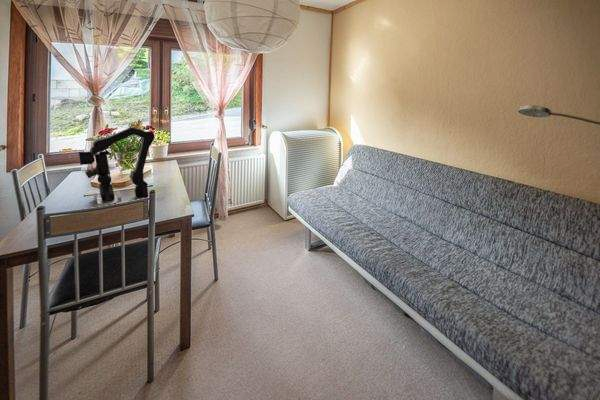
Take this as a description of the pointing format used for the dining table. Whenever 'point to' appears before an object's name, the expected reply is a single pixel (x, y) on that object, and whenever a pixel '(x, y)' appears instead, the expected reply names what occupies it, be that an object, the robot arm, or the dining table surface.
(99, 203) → the track
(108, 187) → the robot arm
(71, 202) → the dining table surface
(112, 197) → the supplement bottle
